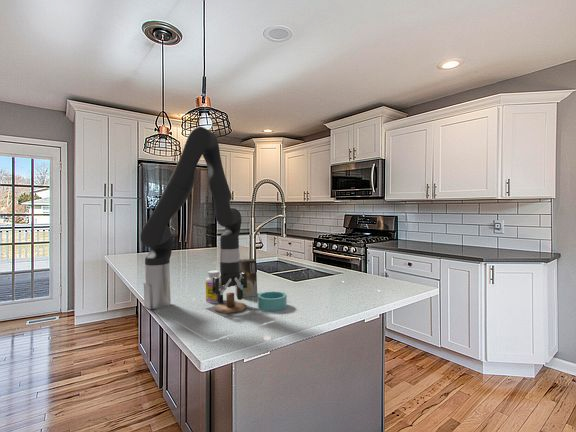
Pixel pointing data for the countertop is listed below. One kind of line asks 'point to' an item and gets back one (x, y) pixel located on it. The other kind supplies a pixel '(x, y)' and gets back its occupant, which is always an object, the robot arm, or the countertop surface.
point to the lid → (230, 305)
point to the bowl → (272, 301)
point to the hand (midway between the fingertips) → (230, 301)
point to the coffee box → (248, 277)
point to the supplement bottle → (210, 295)
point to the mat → (231, 313)
